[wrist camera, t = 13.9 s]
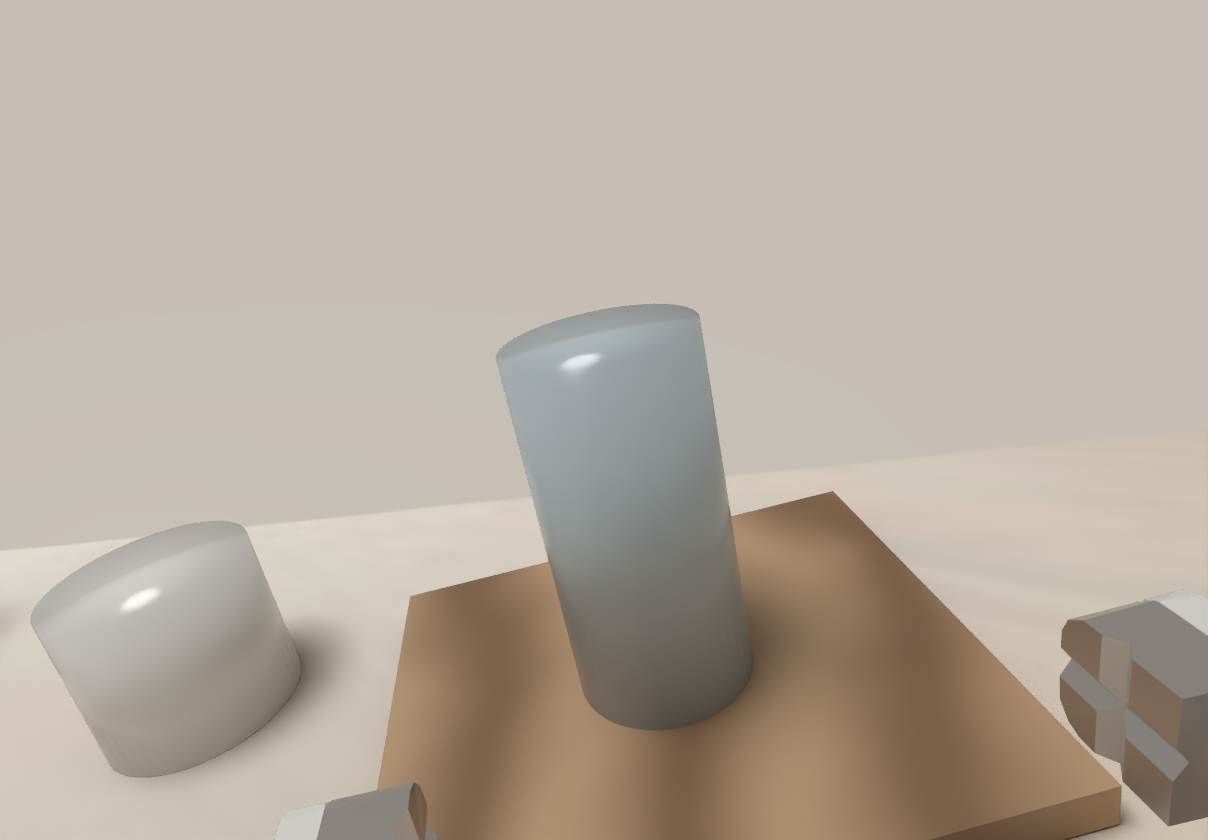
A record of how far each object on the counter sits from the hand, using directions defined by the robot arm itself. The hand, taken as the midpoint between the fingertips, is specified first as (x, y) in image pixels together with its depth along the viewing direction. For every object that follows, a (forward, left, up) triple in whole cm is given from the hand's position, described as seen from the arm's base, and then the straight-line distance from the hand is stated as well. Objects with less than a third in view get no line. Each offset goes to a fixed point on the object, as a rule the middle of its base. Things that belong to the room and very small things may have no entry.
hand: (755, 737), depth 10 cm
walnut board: (0, +13, -10) cm, 16 cm away
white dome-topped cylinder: (-17, +19, -10) cm, 27 cm away
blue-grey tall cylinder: (0, +13, -9) cm, 16 cm away
